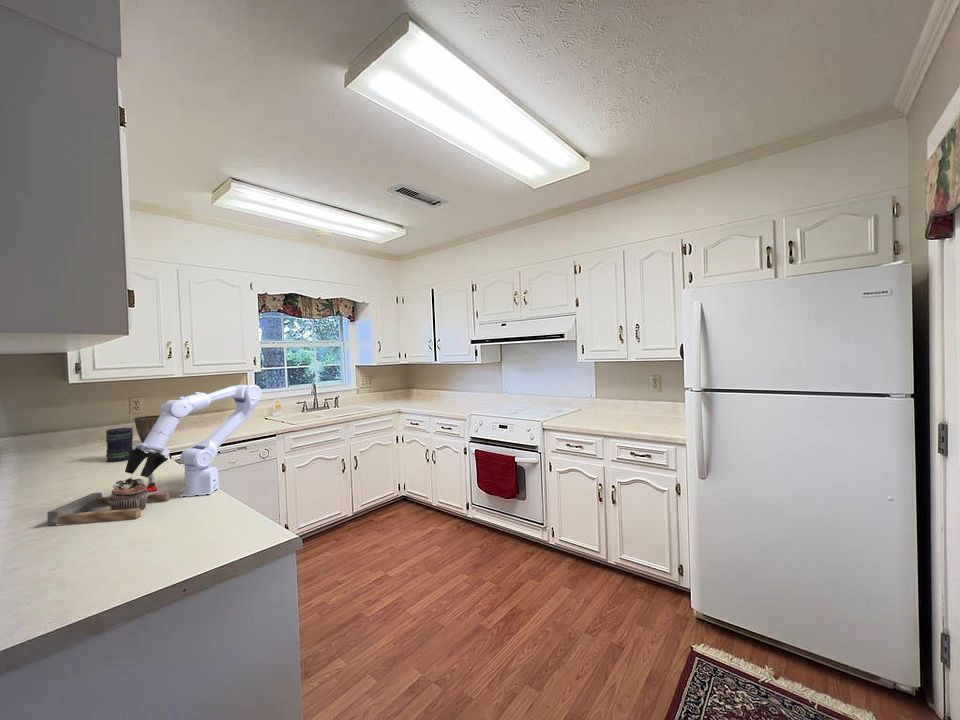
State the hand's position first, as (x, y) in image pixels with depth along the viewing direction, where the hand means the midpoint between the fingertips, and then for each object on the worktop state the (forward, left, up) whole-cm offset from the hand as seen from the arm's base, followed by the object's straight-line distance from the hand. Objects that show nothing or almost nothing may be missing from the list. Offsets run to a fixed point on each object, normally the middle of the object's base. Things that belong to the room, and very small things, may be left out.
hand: (136, 474), depth 127 cm
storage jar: (+54, -80, -11) cm, 97 cm away
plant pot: (+63, -120, -11) cm, 136 cm away
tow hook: (+11, -20, -11) cm, 26 cm away
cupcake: (+2, 0, -11) cm, 12 cm away
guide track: (+6, 0, -11) cm, 13 cm away
